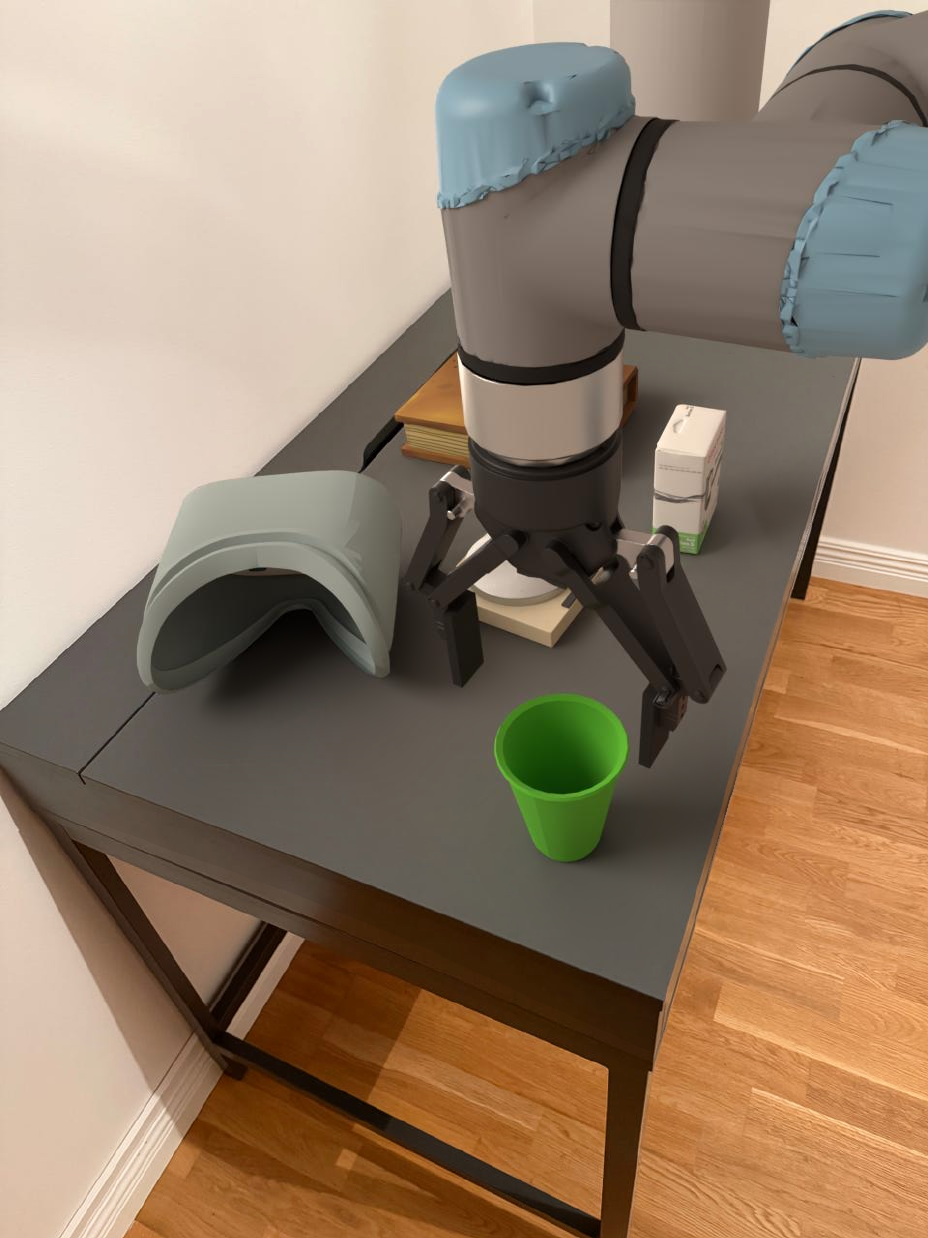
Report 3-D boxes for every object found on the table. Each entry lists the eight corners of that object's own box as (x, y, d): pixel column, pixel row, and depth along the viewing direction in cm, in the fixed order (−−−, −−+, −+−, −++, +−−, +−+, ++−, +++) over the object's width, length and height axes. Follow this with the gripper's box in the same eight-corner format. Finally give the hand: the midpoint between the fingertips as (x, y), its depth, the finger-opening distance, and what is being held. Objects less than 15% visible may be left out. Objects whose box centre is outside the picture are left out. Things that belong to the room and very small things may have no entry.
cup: (645, 810, 68) (650, 717, 61) (595, 908, 63) (594, 820, 55) (540, 768, 72) (532, 676, 65) (484, 857, 67) (469, 768, 59)
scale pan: (597, 551, 88) (597, 543, 87) (542, 620, 82) (541, 612, 81) (502, 521, 93) (502, 513, 92) (443, 584, 87) (442, 577, 86)
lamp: (584, 273, 139) (580, -11, 114) (648, 226, 150) (657, -44, 124) (705, 296, 129) (730, -10, 104) (764, 243, 140) (800, -46, 114)
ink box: (698, 556, 89) (707, 456, 80) (649, 547, 90) (653, 448, 82) (717, 506, 94) (728, 407, 86) (671, 498, 96) (677, 401, 88)
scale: (616, 565, 89) (616, 547, 87) (551, 648, 82) (550, 631, 80) (505, 530, 95) (503, 513, 93) (436, 604, 88) (433, 587, 86)
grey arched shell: (411, 567, 92) (390, 462, 83) (402, 707, 78) (376, 600, 70) (203, 584, 94) (162, 484, 85) (159, 725, 80) (104, 623, 71)
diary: (637, 405, 110) (638, 362, 106) (580, 491, 98) (578, 446, 94) (472, 379, 119) (467, 338, 115) (401, 454, 108) (393, 412, 104)
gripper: (831, 446, 40) (766, 743, 54) (386, 344, 51) (432, 612, 66) (770, 543, 35) (718, 837, 50) (300, 407, 47) (370, 679, 61)
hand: (556, 710), depth 58 cm, fingers open, 13 cm apart
